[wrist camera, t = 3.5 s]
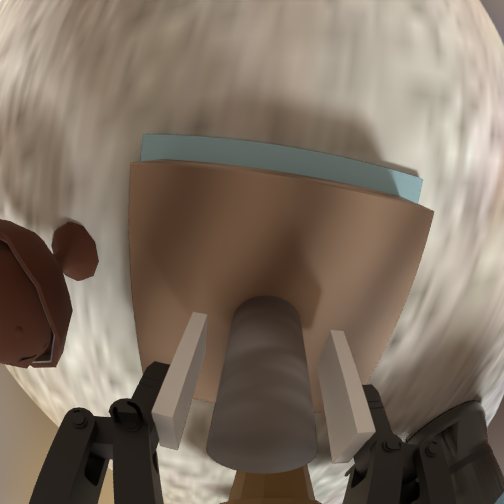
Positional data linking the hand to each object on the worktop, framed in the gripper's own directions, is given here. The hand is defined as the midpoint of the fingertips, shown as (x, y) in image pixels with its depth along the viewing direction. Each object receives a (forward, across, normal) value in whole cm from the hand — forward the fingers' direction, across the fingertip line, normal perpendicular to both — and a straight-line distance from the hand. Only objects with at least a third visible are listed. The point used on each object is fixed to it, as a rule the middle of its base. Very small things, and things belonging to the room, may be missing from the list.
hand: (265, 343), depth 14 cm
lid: (+6, 0, 0) cm, 6 cm away
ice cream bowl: (+7, +17, 0) cm, 18 cm away
